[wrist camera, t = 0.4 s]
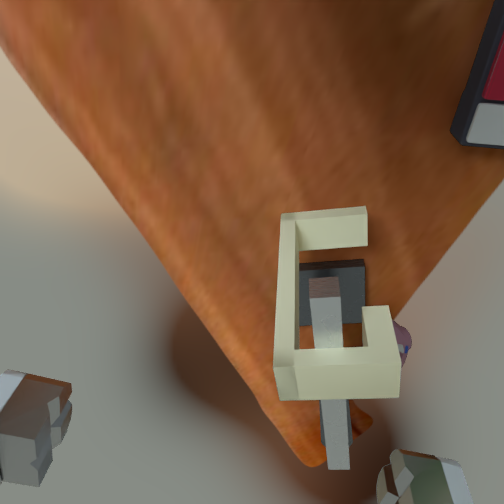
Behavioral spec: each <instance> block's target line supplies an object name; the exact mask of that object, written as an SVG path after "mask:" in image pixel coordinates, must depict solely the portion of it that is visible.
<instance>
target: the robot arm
mask: <svg viewBox="0 0 504 504" xmlns="http://www.w3.org/2000/svg"><path fill="white" fill-rule="evenodd" d="M71 393H72V387H71V383H68V382H63V381H59V380H55V379H50V378H45V377H41V376H37V375H32V374H28V373H23V372H19V371H14V370H9V369H8V370H6V371H5V372H4V373H2V374H1V375H0V484H1V483H2V482H1V481H4V482H10V483H16V484H22V485H29V486H35V487H39V486H40V484H41V482H42V480H43V478H44V476H45V474H46V472H47V470H48V468H49V466H50V464H51V463H52V461H53V460H52V449H53V448H55V447H56V446H58V445H59V444H60V443H61V442H62V440H63V438H64V436H65V434H66V432H67V429H68V426H69V423H70V420H71V414H72V404H71V402H70V401H69V400H68V399H69V397H70V395H71ZM390 461H391V464H389V465H386V466H384V467H383V468H382V470H381V472H380V473H379V476H378V481H377V500H378V504H474V503H473V500H472V497H471V494H470V491H469V488H468V485H467V483H466V480H465V477H464V474H463V471H462V468H461V466H460V464H459V463H458V462H457V461H455V460H452V459H446V458H440V457H435V456H434V455H429V454H423V453H418V452H413V451H407V450H402V449H396V450H394V451H393V452H392V454H391V456H390Z"/></svg>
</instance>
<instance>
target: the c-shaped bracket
mask: <svg viewBox="0 0 504 504" xmlns="http://www.w3.org/2000/svg"><path fill="white" fill-rule="evenodd" d="M357 246H368V226H367V210H366V206H360V207H349V208H338V209H327V210H316V211H305V212H294V213H283V214H281V225H280V244H279V263H278V282H277V301H276V319H275V338H274V357H273V370H274V375H275V380H276V385H277V389H278V394H279V399H280V401H285V400H328V399H370V398H399V393H400V378H401V358H400V354H399V349H398V345H397V341H396V336H395V332H394V328H393V323H392V319H391V315H390V310H389V306H388V305H384V306H366V307H362V342H363V347H348V348H324V349H299V251H305V250H318V249H331V248H344V247H357Z"/></svg>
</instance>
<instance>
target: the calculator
mask: <svg viewBox="0 0 504 504" xmlns="http://www.w3.org/2000/svg"><path fill="white" fill-rule="evenodd" d="M450 132H451V134H452V135H453V136H454V137H455V138H456V140H457V141H458V142H459V143H460V144H461V145H464V146H475V147H486V148H498V149H504V0H495V1H494V3H493V6H492V9H491V12H490V15H489V18H488V21H487V24H486V27H485V30H484V33H483V36H482V39H481V42H480V45H479V48H478V51H477V54H476V58H475V61H474V64H473V67H472V70H471V73H470V76H469V79H468V82H467V85H466V88H465V90H464V91H463V93H462V96H461V99H460V102H459V105H458V108H457V111H456V114H455V116H454V119H453V122H452V125H451V128H450Z"/></svg>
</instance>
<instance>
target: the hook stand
mask: <svg viewBox="0 0 504 504" xmlns="http://www.w3.org/2000/svg"><path fill="white" fill-rule="evenodd" d="M362 307H365V265H364V260H363V259H355V260H341V261H327V262H313V263H299V326H305V325H312V326H313V335H314V344H315V349H324V348H343V334H342V324H345V323H362ZM319 402H320V424H321V442H322V444H323V445H324V446H325V447H326V452H327V461H328V469H350V464H349V446H350V445H351V444H352V443H353V439H352V429H351V420H350V410H349V401H348V399H328V400H319Z"/></svg>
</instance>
